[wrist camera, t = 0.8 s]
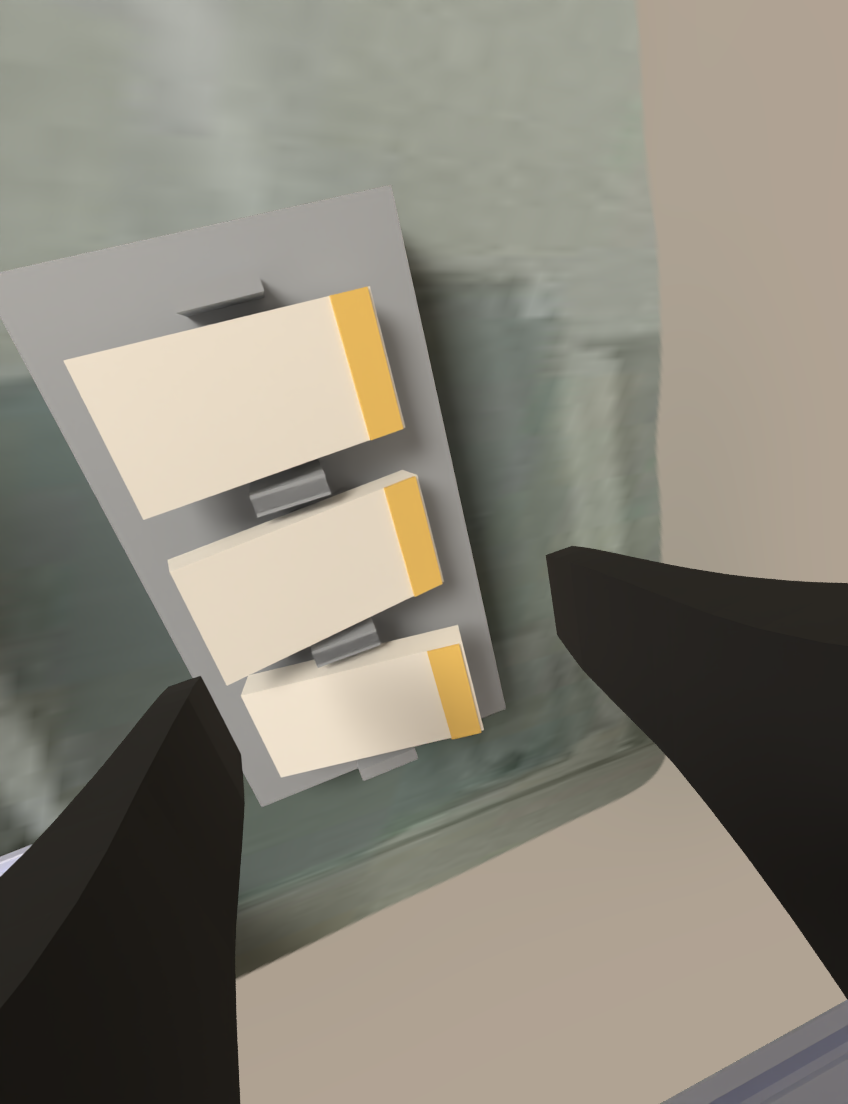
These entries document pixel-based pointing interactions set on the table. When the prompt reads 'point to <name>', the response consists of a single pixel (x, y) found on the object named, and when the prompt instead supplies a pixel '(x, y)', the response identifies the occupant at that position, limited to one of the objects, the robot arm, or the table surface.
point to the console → (420, 448)
